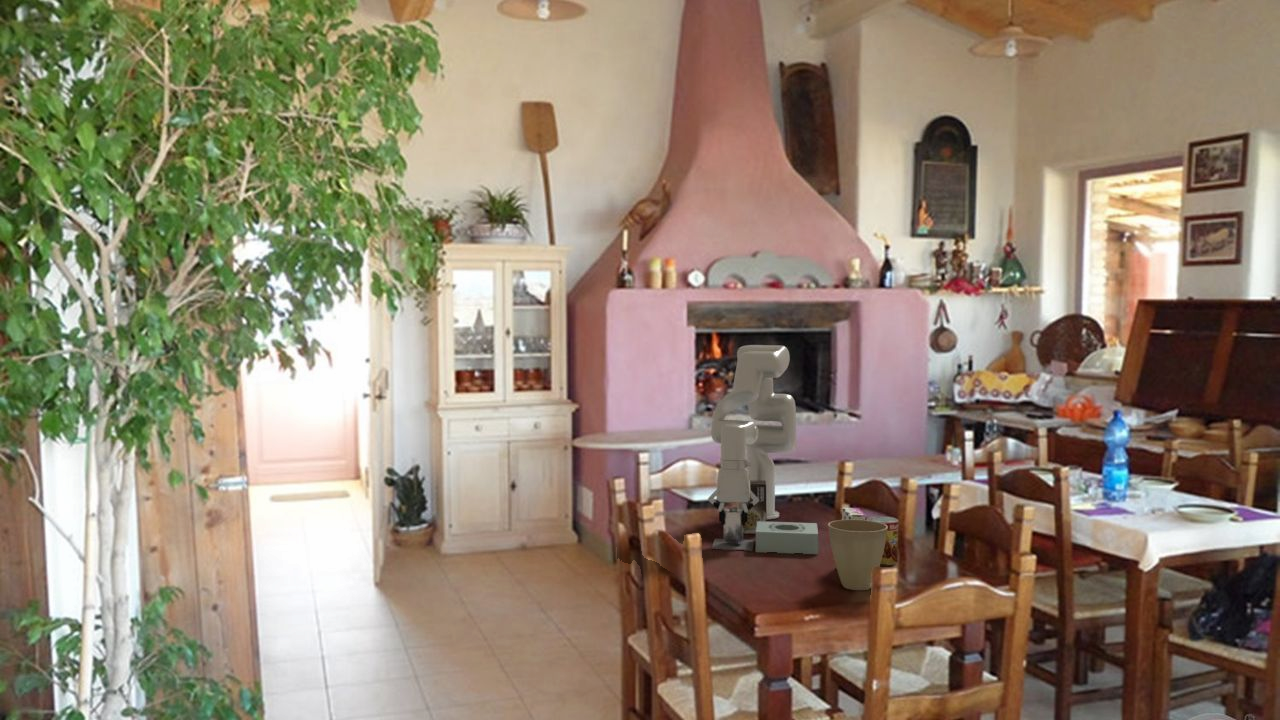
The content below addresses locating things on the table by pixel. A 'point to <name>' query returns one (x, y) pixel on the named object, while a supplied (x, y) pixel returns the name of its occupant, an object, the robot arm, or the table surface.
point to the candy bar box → (853, 514)
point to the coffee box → (756, 506)
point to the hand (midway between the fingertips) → (733, 523)
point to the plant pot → (857, 550)
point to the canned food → (889, 539)
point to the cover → (733, 525)
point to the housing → (787, 537)
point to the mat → (733, 545)
